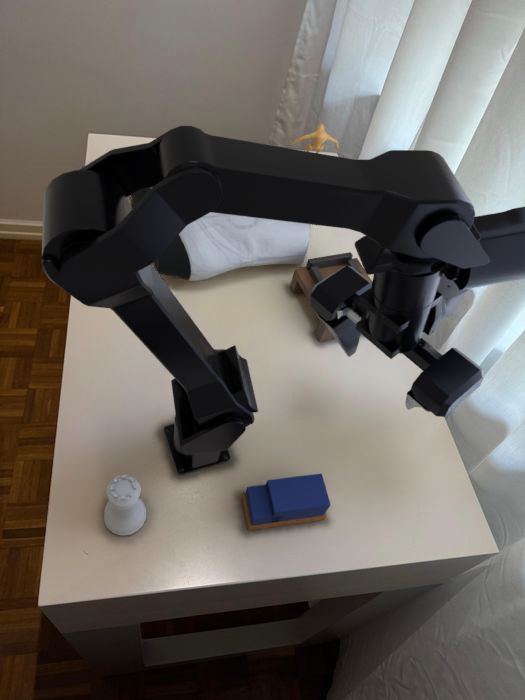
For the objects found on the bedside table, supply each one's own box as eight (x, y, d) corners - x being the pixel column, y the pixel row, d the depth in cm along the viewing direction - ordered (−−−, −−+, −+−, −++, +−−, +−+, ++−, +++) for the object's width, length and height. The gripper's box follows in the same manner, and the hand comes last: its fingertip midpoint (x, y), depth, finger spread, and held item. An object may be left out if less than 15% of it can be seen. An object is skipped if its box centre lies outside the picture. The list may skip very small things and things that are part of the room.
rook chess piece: (131, 489, 64) (130, 457, 58) (154, 520, 63) (155, 490, 56) (95, 513, 62) (90, 482, 56) (119, 545, 60) (116, 517, 54)
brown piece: (382, 328, 85) (395, 303, 81) (319, 342, 82) (329, 317, 77) (349, 275, 91) (360, 249, 87) (289, 286, 87) (297, 260, 83)
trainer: (315, 487, 68) (324, 471, 65) (324, 519, 66) (333, 505, 63) (241, 496, 66) (246, 481, 63) (247, 530, 64) (253, 516, 60)
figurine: (325, 173, 107) (342, 114, 97) (329, 194, 103) (348, 134, 94) (281, 168, 105) (295, 108, 96) (284, 189, 102) (298, 128, 92)
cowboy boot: (158, 258, 75) (329, 241, 83) (120, 122, 88) (272, 119, 96) (155, 301, 83) (311, 282, 91) (121, 171, 96) (261, 164, 104)
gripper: (545, 303, 51) (492, 393, 63) (389, 197, 59) (370, 295, 72) (463, 372, 47) (424, 453, 60) (309, 248, 55) (304, 343, 68)
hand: (380, 379), depth 65 cm, fingers open, 9 cm apart
